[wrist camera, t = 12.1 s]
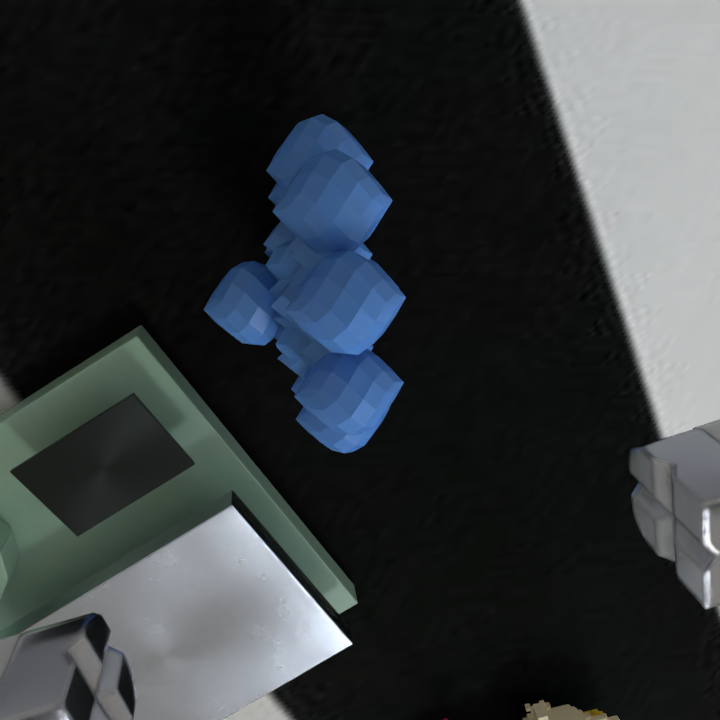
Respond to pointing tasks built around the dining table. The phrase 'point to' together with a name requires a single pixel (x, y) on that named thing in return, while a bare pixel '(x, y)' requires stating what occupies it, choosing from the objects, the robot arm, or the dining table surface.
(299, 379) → the grapes
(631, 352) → the dining table surface
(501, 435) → the dining table surface
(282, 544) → the scale
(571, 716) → the beige blocky toy
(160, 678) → the scale pan
